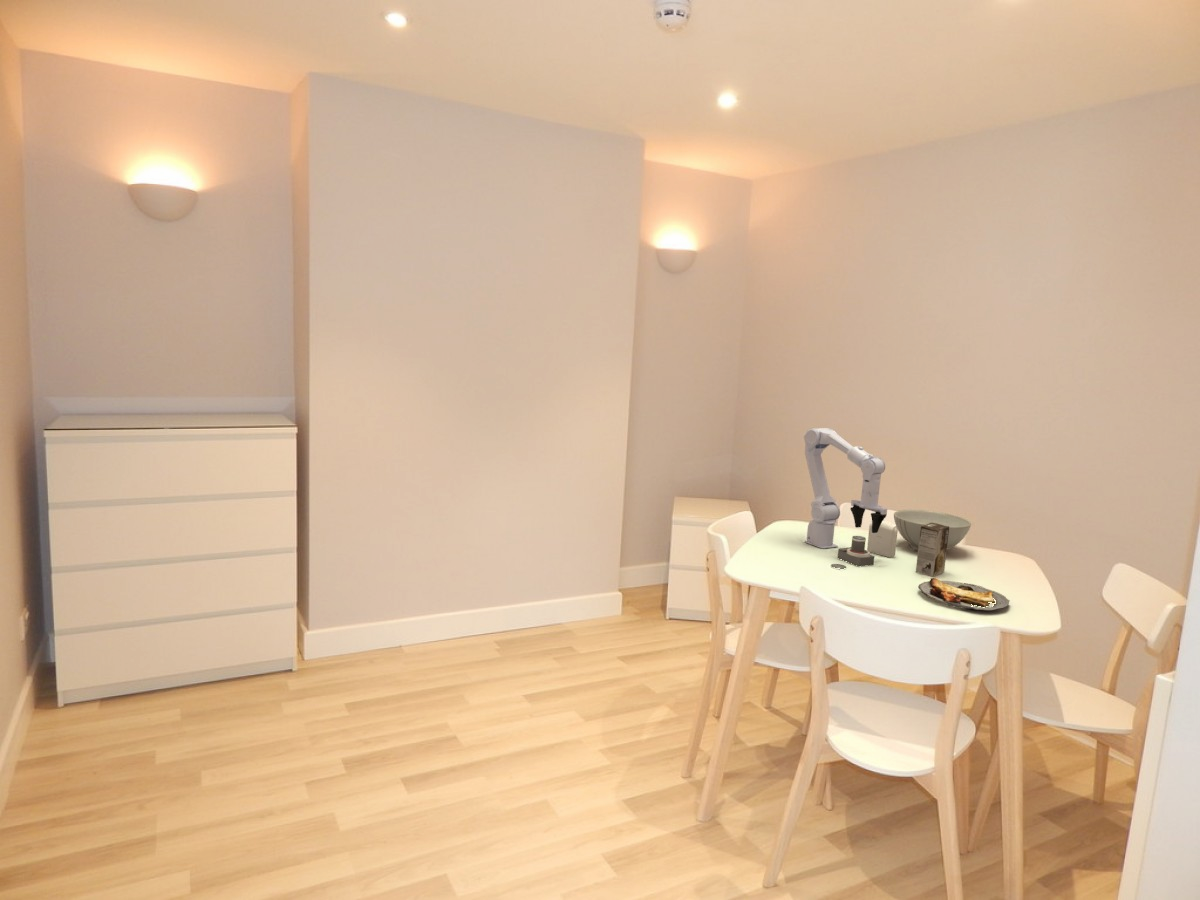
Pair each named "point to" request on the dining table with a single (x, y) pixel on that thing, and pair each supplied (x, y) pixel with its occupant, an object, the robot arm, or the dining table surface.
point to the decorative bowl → (914, 519)
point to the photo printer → (883, 539)
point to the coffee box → (932, 549)
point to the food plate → (963, 594)
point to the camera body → (855, 557)
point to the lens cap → (838, 566)
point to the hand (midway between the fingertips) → (866, 529)
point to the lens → (858, 544)
